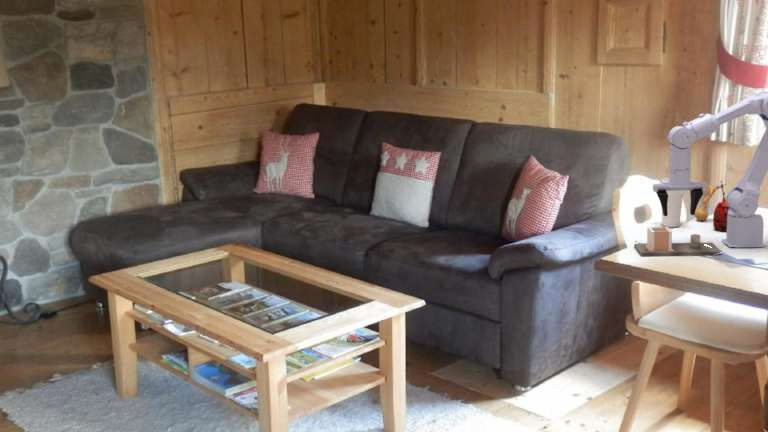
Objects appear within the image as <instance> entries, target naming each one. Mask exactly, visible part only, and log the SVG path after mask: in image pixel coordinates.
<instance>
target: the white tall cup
mask: <svg viewBox="0 0 768 432" xmlns="http://www.w3.org/2000/svg"><path fill="white" fill-rule="evenodd" d="M660 181H661V182H660V184H661V183H669V177H667V178H662V179H661V180H660ZM674 189H675V188H674ZM666 192H667V194H668V202H667V212H668V213H667V216H664V215H663V210H662V209H661V220H662V221H661V225H662V227H668V228H678V227H679V226H680V224H681V215H682V213H681V212H682V204H683V198H684V190H678V191H666Z"/></svg>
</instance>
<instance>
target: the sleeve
mask: <svg viewBox="0 0 768 432" xmlns="http://www.w3.org/2000/svg"><path fill="white" fill-rule="evenodd" d="M646 233H647V235H646V236H647V237H646V238H647V239H646V244H647V246H648V247H649V249H650V250H651V251H663V250H671V246H672V243H673V241H672V240H673V231H672V230H671V229H670V227H665V226H647V231H646Z"/></svg>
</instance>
